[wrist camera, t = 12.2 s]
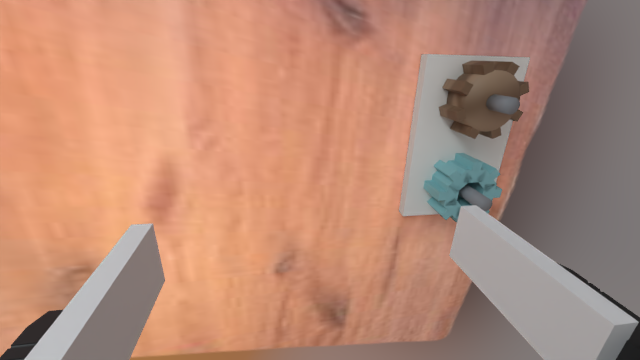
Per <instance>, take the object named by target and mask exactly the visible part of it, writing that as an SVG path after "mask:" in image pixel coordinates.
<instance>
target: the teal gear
mask: <svg viewBox="0 0 640 360" xmlns="http://www.w3.org/2000/svg"><path fill="white" fill-rule="evenodd" d="M434 167H435V168H436V170H437V171H436V172H435V173H434V174H433V175H432V180H425V182H424V187H423V188H424V189H425V190H426V191H427V192H428V193H429V194H430V195H431V196H432V198H430V199H429V200H428V201H427V203H428V204H429V205H430V206H431V207H432V208H433V209H434V210H435V211H437V212H438V213H439V214H440V215H441V216H442V217H443V218H444V219H445V220H447V219H448V218H449V217H451V218H452V219H453V220H454V221H455V222H457V221H458V217H459V212H460V208H461V206H471V205H472V204H470V203H469V202H468V201H466V200H465V199H463V198H462V197H461V196H459V195H458V194H459V190H460V189H461V188H463V187H464V186H465V185H466V184H467V185H469V186H470V187H472V188H473V189H475V190H476V191H478V192H480V193H481V194H483V195H484V196H486V197H487V198H489V199H490V200H491V201H492V199H493V198H497V197H500V195H501V192H502V189H501V188H499V187H497V186H496V185H497V183H496V182H495V181H494V179H495V178H497V177H498V176H499V175H500V173H499V172H498V170H497V169H496V168H494V167H492V166H490V165H488V164H486V163H484V162H482V161H480V160H478V159H475V158H473V157H471V156H469V155H467V154H465V153H456V154H455V159H454V160H449V161H448V162H446V163H445V162H443V161H441V160H439V161H438V162H437V163H436V164H435V165H434ZM485 212H486V213H489V212H490V211H489V210H487V211H485Z"/></svg>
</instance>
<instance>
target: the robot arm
mask: <svg viewBox="0 0 640 360" xmlns="http://www.w3.org/2000/svg"><path fill="white" fill-rule="evenodd" d="M449 256H450V257H451V258H452V259H453V260H454V261H455V263H456V264H457V265H458V266H459V267H460V268H461V269H462V270H463V271H464V272H465V273H466V275H467V276H468V277H469V278H470V279H471V280H472V281H473V282H474V283H475V284H476V286H477V287H478V288H479V289H480V290H481V291H482V292H483V293H484V294H485V295H486V297H487V298H488V299H489V300H490V301H491V302H492V303H493V304H494V305H495V306H496V307H497V308H498V310H499V311H500V312H501V313H502V314H503V315H504V316H505V317H506V319H507V320H508V321H509V322H510V323H511V324H512V325H513V326H514V327H515V328H516V329H517V331H518V332H519V333H520V334H521V335H522V336H523V337H524V338H525V339H526V340H527V341H528V343H529V344H530V345H531V346H532V347H533V348H534V349H535V350H536V351H537V352H538V354H539V355H540V356H541V357H542V358H543V359H544V360H640V317H638V316H637V315H635V314H634V313H633V312H631V311H630V310H628V309H627V308H625V307H624V306H623V305H621V304H619V303H618V302H617V301H615V300H614V299H613V298H611V297H610V296H608V295H607V294H605V293H604V292H601V291H600V289H598V288H597V287H596V286H594V285H593V284H591V283H588V281H587V280H586V279H584V278H583V277H581V276H580V275H578V274H577V273H575V272H574V271H573V270H571V269H569V268H567V267H564V266H563V265H561V264H558V263H556V262H555V261H553V260H552V259H550V258H549V257H548V256H546V255H545V254H543V253H542V252H541V251H539V250H538V249H536V248H535V247H534V246H532V245H531V244H529V243H528V242H527V241H525V240H524V239H522V238H521V237H520V236H518V235H517V234H515V233H514V232H513V231H511V230H510V229H508V228H507V227H506V226H504V225H503V224H502V223H500V222H499V221H497V220H496V219H495V218H493V217H492V216H490V215H489V214H488V213H486V212H485V211H483V210H482V209H481V208H479V207H478V206H476V205H471V206H461V208H460V212H459V217H458V221H457V225H456V230H455V234H454V238H453V242H452V247H451V251H450V255H449ZM164 281H165V278H164V273H163V268H162V264H161V259H160V254H159V250H158V245H157V240H156V236H155V231H154V226H153V224H137V225H131V226H130V227H129V228H128V230H127V231H126V232H125V233H124V235H123V236H122V237H121V239H120V240H119V241H118V242H117V244H116V245H115V246H114V247H113V249H112V250H111V251H110V252H109V254H108V255H107V256H106V257H105V259H104V260H103V261H102V262H101V264H100V265H99V266H98V267H97V269H96V270H95V271H94V272H93V274H92V275H91V276H90V277H89V279H88V280H87V281H86V282H85V284H84V285H83V286H82V288H81V289H80V290H79V291H78V293H77V294H76V295H75V296H74V298H73V299H72V300H71V301H70V303H69V304H68V305H67V306H66V308H65V309H64V310H56V311H48V312H47V313H45V314H44V315H43V316H41V317H40V318H39V319H37V320H36V321H35V322H33V323H32V324H31V325H29V326H28V327H27V328H26V329H25V330H24V331H23V332H22V333H21V335H20V336H19V337H18V338H17V339H16V340H15V341H14V342H13V344H12V345H11V348H10V349H7V350H6V352H5V353H4V354H3V355H2V356H1V357H0V360H129V359H130V357H131V355H132V352H133V350H134V348H135V346H136V344H137V341H138V339H139V337H140V335H141V332H142V330H143V328H144V326H145V324H146V321H147V319H148V317H149V315H150V312H151V310H152V308H153V306H154V304H155V301H156V299H157V297H158V295H159V292H160V290H161V288H162V286H163V284H164Z"/></svg>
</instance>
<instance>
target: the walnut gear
mask: <svg viewBox="0 0 640 360" xmlns="http://www.w3.org/2000/svg"><path fill="white" fill-rule="evenodd" d="M462 66H463V72H464V73H463V74H462V75H460V76H459V77H458V78H457V79H456V80H455V79H447V80H446V81H445V83H444V85H443V87H442V88H443V89H445V90H447V91H449V92H448V96H447V104H445V105H442V106H440V107H439V111H440V116H442V117H445V118H448V119H451V120H454V122H453V124H452V125H451V127H450V129H452V130H454V131H456V132H458V133H461V134H463V135H466V136H468V137H471V138H473V139H476V137H477V135H478V134H480V135H483V136H486V137H489V138H491V139H494V138H496V137H498V136H501V126H503V125H504V124H505V123H507V122H508V121H509V120H513V121H518V120H519V118H520V116H521V115H522V113H523V112H522V111H520V110H517V111H516V112H515V113H514V114H511V115H509V114H505V113H501V112H497V111H493V110H489V109H488V108H487V106H486V102H487V100H488V98H489V97H490V96H491V95H494V94H497V95H503V96H509V97H514V98H517V99H518V100H519V101H520V96H521V95H523V94H525V93H528V92H529V86H528V82H522V81H517V79H516V78H515V76H514V75H515V73H516V72H517V70H518V68H519V67H520V66H518V65H517V64H515V63H513V62H504V61H469V62H467V63H464V64H462Z"/></svg>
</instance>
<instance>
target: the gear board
mask: <svg viewBox="0 0 640 360" xmlns="http://www.w3.org/2000/svg"><path fill="white" fill-rule="evenodd" d="M529 60H530V57H501V56H470V55H439V54H422V55H421V62H420V69H419V76H418V83H417V90H416V97H415V104H414V110H413V117H412V124H411V131H410V138H409V145H408V152H407V159H406V166H405V173H404V179H403V186H402V193H401V200H400V207H399V212H400V213H401V214H402V216H414V215H431V214H439V213H438V212H437V211H435V210H434V209H433V208H432V207H431V206H430V205H429V204H428V203H427V201H428V200H429V199H430V198H432V196H431V195H430V194H429V193H428V192H427V191H426V190H425V189H424V188H423V187H424V182H425V180H432V175H433V174H434V173H435V172H436V171H437V170H436V168H435V167H434V165H435V164H436V163H437V162H438V161H439V160H441V161H443V162H445V163H446V162H448V161H449V160H454V159H455V154H456V153H465V154H467V155H469V156H471V157H473V158H475V159H478V160H480V161H482V162H484V163H486V164H488V165H490V166H492V167H494V168H496V169H497V170H498V172H499V169H500V166H501V162H502V159H503V155H504V151H505V148H506V144H507V140H508V137H509V133H510V129H511V126H512V122H513V120H509V121H508V122H507V123H505V124H504V125H503V126H501V136H498V137H496V138H494V139H491V138H489V137H486V136H483V135H480V134H478V135H477V137H476V139H473V138H471V137H468V136H466V135H463V134H461V133H458V132H456V131H454V130H452V129H450V127H451V125H452V124H453V122H454V120H451V119H448V118H445V117H442V116H440V111H439V107H440V106H442V105H445V104H447V96H448V92H449V91H447V90H445V89H443V88H442V87H443V85H444V83H445V81H446V80H447V79H455V80H456V79H457V78H458V77H459V76H460V75H462V74H463V73H464V72H463V66H462V64H464V63H467V62H469V61H504V62H513V63H515V64H517V65H518V66H520V67H519V68H518V70H517V72H516V73H515V75H514V76H515V78H516V79H517V81H522V82H524V78H525V75H526V71H527V67H528V64H529ZM486 106H487V108H488V109H489V110H493V111H497V112H501V113H505V114H509V115H511V114H514V113H515V112H516V111H517V110H518V108H519V106H520V102H519V100H518V99H517V98H514V97H509V96H503V95H497V94H494V95H491V96H490V97H489V98H488V100H487V102H486ZM496 180H497V178H495V179H494V181H495V182H496ZM458 195H459V196H461V197H462V198H463V199H465V200H466V201H468V202H469V203H470V204H472V205H476V206H478V207H479V208H481V209H482V210H483V211H487V210H489V209H490V208H491V206H492V201H491V200H490V199H489V198H487V197H486V196H484V195H483V194H481V193H480V192H478V191H476V190H475V189H473V188H472V187H470V186H469V185H467V184H466V185H465V186H464V187H463V188H461V189H460V190H459V194H458Z"/></svg>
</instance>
